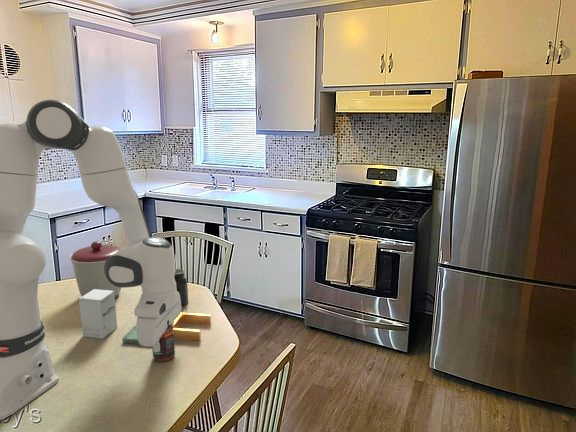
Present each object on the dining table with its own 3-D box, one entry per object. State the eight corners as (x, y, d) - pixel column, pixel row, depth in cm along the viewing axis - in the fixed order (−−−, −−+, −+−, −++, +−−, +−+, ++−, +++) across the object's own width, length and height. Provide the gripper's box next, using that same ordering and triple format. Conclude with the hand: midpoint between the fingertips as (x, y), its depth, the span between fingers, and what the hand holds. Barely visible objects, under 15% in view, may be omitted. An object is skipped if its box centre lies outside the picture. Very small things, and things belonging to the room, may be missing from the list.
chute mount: (194, 348, 122) (194, 339, 121) (122, 342, 124) (121, 333, 124) (215, 316, 141) (214, 308, 140) (152, 311, 144) (152, 303, 143)
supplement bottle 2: (178, 297, 155) (176, 266, 152) (192, 301, 152) (190, 270, 149) (164, 304, 149) (162, 272, 147) (178, 309, 146) (176, 276, 143)
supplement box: (104, 339, 126) (99, 300, 123) (82, 336, 128) (77, 298, 125) (118, 327, 133) (114, 290, 130) (97, 324, 135) (93, 288, 132)
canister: (62, 303, 149) (55, 246, 144) (98, 284, 166) (93, 232, 161) (105, 310, 144) (99, 252, 139) (137, 290, 161) (133, 237, 156)
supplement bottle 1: (178, 351, 120) (176, 315, 118) (170, 363, 114) (168, 325, 112) (158, 350, 121) (155, 314, 118) (149, 362, 115) (146, 324, 112)
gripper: (164, 281, 124) (167, 324, 127) (130, 313, 104) (134, 363, 107) (185, 282, 123) (187, 325, 126) (154, 315, 103) (158, 365, 107)
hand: (163, 343), depth 117 cm, fingers closed on supplement bottle 1, 6 cm apart
